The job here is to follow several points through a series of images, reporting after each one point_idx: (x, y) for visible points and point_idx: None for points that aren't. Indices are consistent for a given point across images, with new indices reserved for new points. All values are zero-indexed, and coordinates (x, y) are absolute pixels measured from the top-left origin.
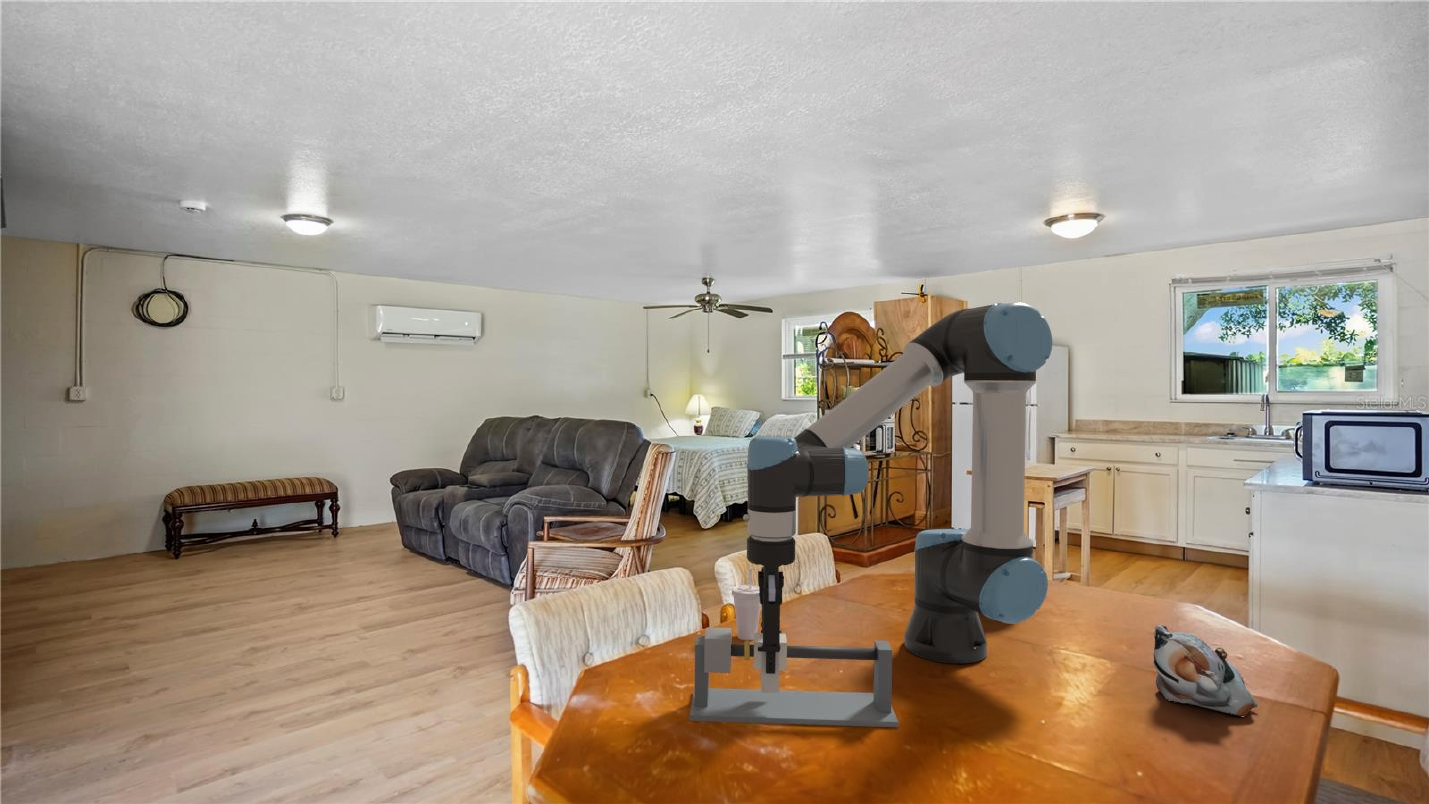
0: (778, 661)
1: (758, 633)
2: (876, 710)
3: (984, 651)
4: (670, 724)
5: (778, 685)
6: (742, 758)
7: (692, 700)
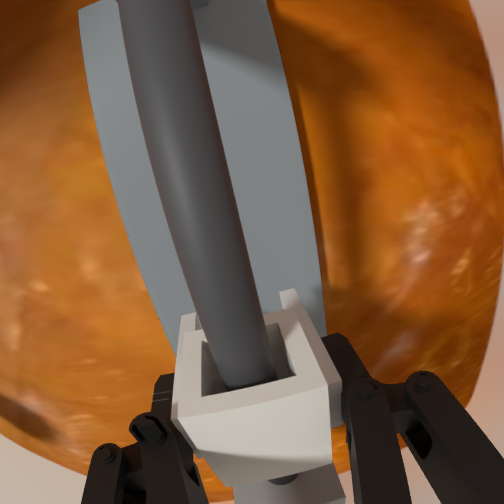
0: (327, 353)
1: (226, 479)
2: (197, 8)
3: None
4: None
5: (300, 302)
6: (442, 281)
7: None
